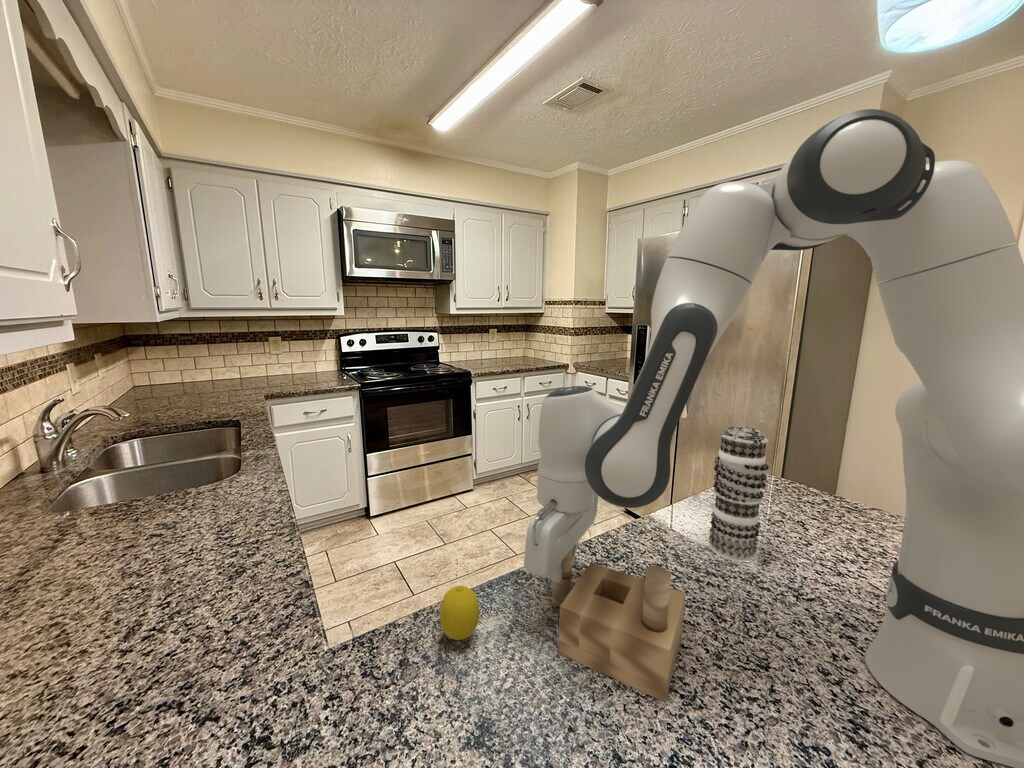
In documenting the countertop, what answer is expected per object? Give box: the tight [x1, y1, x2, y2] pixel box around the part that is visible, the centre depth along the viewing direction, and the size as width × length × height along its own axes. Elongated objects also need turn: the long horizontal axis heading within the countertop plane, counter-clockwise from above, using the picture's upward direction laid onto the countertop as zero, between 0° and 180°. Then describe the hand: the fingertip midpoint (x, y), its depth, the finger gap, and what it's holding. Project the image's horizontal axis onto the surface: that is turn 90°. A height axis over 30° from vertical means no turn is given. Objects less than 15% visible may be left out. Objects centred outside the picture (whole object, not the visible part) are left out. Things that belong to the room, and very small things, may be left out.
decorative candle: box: [708, 425, 770, 563], centre depth 80 cm, size 9×9×25 cm
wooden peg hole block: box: [557, 562, 686, 703], centre depth 56 cm, size 14×12×14 cm
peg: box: [551, 548, 573, 608], centre depth 65 cm, size 3×3×12 cm
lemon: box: [439, 585, 480, 641], centre depth 57 cm, size 6×6×8 cm
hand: (562, 571), depth 65 cm, fingers closed on peg, 3 cm apart
